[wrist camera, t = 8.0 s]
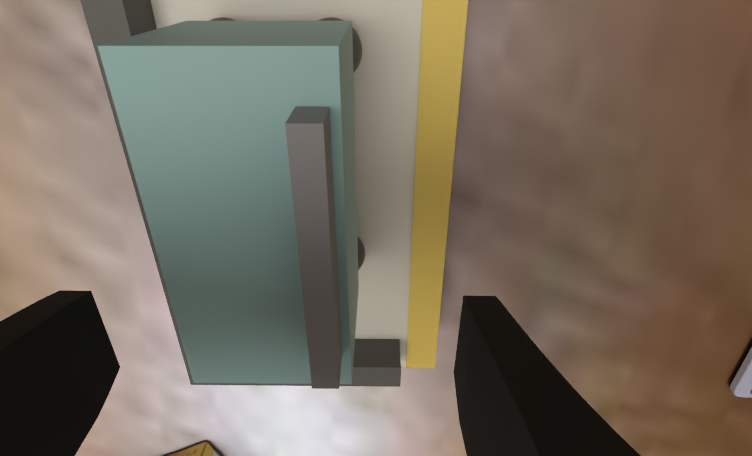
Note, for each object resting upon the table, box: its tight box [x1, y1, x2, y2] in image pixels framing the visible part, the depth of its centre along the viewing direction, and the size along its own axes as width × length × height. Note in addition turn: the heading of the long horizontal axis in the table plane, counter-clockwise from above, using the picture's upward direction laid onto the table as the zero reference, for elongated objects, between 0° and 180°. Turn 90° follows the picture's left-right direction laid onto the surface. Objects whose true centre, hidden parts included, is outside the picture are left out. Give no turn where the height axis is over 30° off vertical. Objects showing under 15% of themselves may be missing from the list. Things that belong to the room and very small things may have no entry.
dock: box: [81, 0, 468, 386], centre depth 15 cm, size 10×18×4 cm, turn 0°
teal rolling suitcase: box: [98, 17, 365, 388], centre depth 12 cm, size 4×8×7 cm, turn 0°
